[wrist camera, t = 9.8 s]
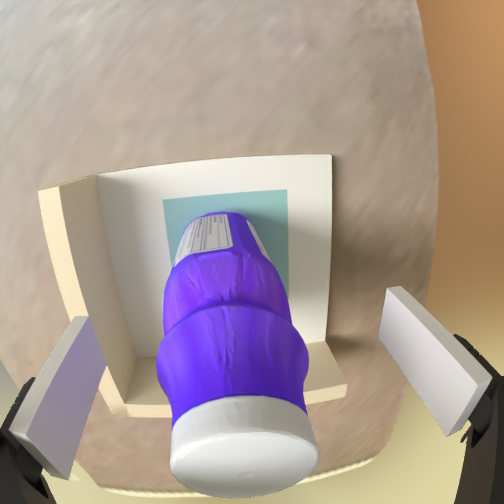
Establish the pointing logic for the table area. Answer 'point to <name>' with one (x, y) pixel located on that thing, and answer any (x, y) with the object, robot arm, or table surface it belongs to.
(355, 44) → the table surface
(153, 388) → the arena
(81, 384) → the robot arm
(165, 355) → the bottle
